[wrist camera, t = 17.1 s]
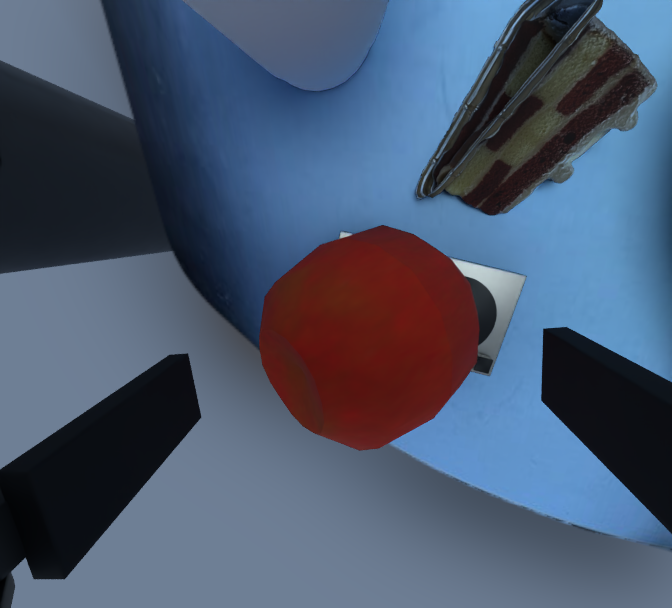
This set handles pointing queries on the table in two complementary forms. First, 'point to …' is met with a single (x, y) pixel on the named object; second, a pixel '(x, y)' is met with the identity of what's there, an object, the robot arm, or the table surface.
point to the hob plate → (489, 306)
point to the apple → (369, 336)
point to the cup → (299, 35)
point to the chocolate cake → (538, 106)
